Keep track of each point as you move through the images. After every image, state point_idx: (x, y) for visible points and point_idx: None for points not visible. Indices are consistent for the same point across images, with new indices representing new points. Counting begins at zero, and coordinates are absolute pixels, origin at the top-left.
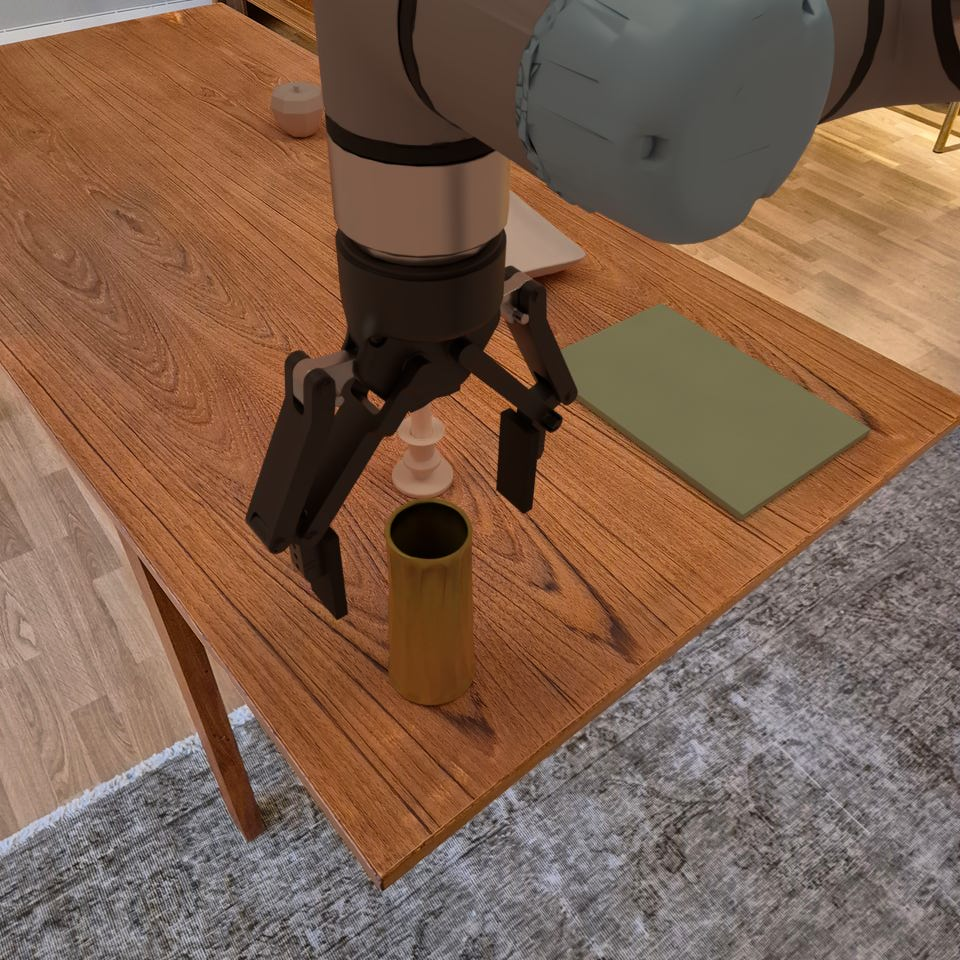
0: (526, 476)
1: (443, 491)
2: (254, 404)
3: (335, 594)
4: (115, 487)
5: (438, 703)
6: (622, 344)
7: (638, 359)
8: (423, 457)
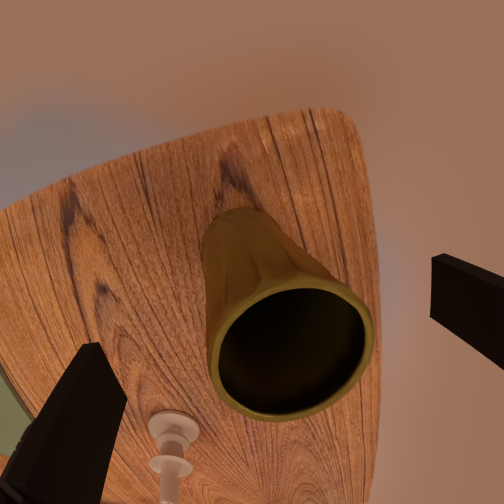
0: (66, 399)
1: (161, 411)
2: (268, 491)
3: (478, 269)
4: (370, 449)
5: (256, 209)
6: (11, 445)
7: (2, 431)
8: (173, 444)
